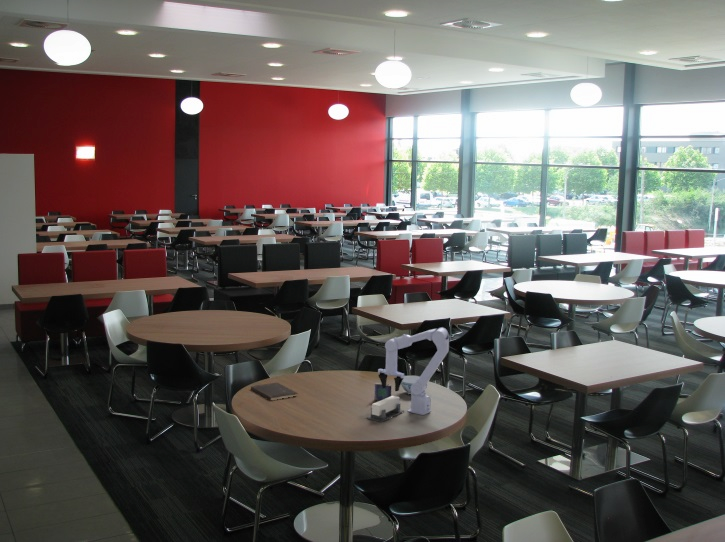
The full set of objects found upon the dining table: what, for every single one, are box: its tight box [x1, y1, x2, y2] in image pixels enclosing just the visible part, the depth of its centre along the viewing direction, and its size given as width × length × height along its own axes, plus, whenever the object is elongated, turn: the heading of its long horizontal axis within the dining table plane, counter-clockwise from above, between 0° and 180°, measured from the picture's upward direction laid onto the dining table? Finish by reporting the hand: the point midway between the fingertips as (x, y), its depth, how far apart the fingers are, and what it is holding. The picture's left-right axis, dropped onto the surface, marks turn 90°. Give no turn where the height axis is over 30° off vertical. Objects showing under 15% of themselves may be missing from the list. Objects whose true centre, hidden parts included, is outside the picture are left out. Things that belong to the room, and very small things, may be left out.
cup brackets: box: [366, 402, 405, 423], centre depth 355 cm, size 8×20×5 cm, turn 145°
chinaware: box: [400, 375, 421, 395], centre depth 393 cm, size 15×15×8 cm
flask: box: [373, 382, 392, 402], centre depth 378 cm, size 9×3×11 cm, turn 65°
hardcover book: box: [250, 382, 299, 402], centre depth 387 cm, size 16×23×2 cm
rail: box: [371, 395, 401, 416], centre depth 355 cm, size 4×18×5 cm, turn 145°
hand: (390, 389), depth 366 cm, fingers open, 7 cm apart
